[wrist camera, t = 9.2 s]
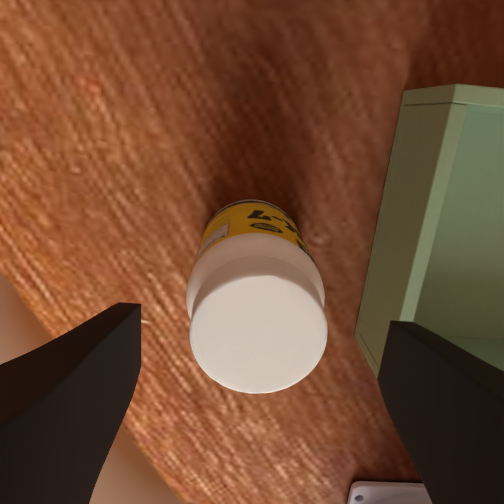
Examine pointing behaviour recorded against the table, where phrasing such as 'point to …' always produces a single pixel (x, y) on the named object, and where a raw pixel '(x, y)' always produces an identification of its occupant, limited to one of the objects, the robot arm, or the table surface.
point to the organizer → (441, 225)
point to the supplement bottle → (255, 300)
